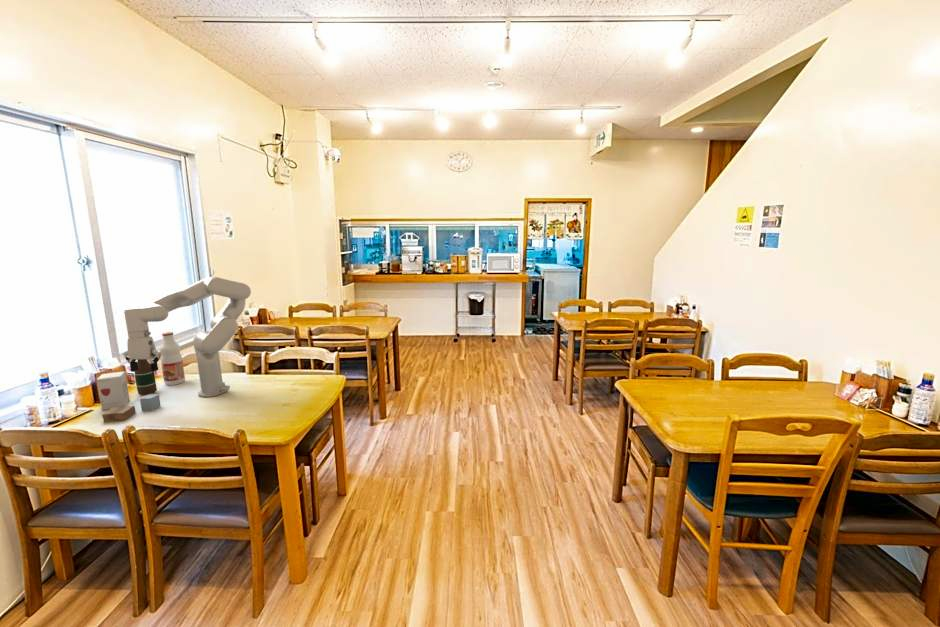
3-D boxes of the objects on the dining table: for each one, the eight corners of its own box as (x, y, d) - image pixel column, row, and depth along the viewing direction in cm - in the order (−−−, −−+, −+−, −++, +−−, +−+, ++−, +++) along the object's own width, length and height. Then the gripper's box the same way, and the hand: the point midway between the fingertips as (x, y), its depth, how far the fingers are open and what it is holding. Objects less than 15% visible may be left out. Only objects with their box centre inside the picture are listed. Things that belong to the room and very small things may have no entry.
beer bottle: (160, 389, 218) (153, 345, 214) (148, 395, 210) (140, 349, 206) (147, 389, 219) (139, 345, 214) (134, 395, 211) (126, 349, 207)
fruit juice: (188, 381, 230) (180, 332, 225) (167, 386, 223) (159, 335, 218) (182, 378, 236) (174, 330, 231) (162, 383, 228) (154, 333, 223)
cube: (160, 406, 196) (158, 394, 195) (152, 411, 191) (150, 398, 190) (150, 406, 196) (148, 394, 195) (141, 410, 192) (139, 398, 190)
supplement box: (101, 410, 193) (95, 379, 190) (106, 403, 201) (101, 373, 198) (125, 406, 197) (120, 376, 194) (130, 400, 205) (125, 370, 202)
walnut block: (135, 413, 189) (134, 405, 188) (124, 421, 181) (123, 412, 180) (116, 415, 188) (114, 407, 187) (103, 423, 180) (102, 414, 179)
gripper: (163, 332, 191) (169, 368, 194) (127, 332, 192) (134, 368, 195) (150, 336, 183) (156, 373, 186) (113, 336, 184) (119, 373, 187)
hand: (144, 370), depth 191 cm, fingers open, 9 cm apart
